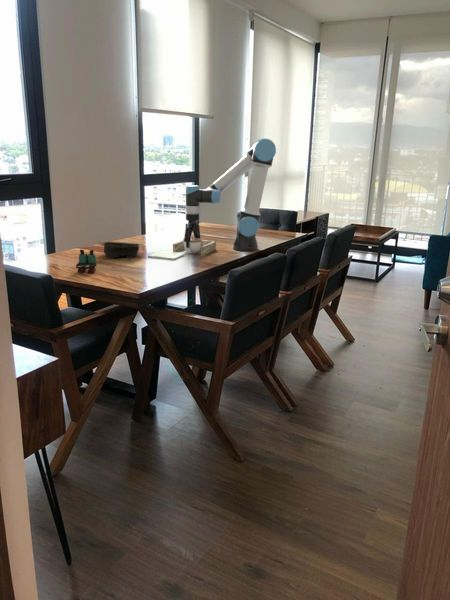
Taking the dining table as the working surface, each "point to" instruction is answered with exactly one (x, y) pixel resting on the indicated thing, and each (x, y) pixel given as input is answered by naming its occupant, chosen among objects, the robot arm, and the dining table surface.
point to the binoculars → (86, 262)
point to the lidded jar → (194, 244)
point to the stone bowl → (120, 249)
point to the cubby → (205, 248)
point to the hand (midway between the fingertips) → (192, 251)
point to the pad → (167, 255)
